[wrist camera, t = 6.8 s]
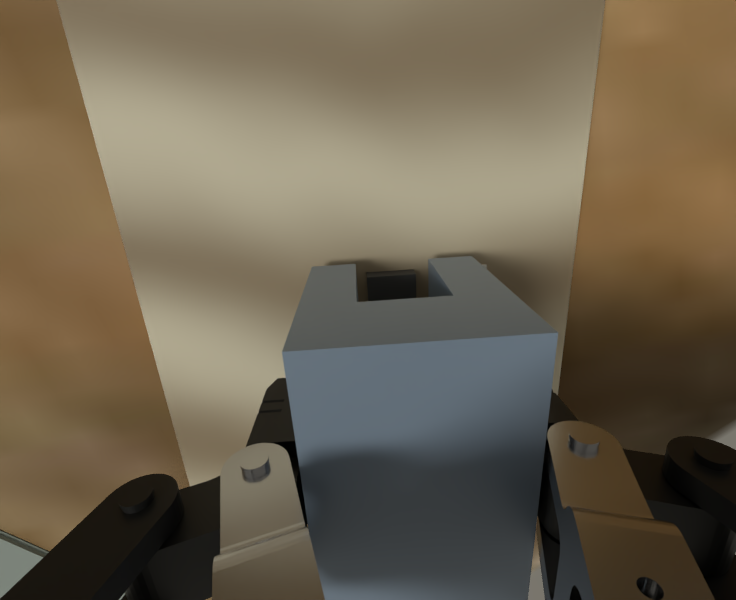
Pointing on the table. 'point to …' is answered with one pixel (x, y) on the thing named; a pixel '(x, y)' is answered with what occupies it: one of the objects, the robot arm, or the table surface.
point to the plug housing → (420, 434)
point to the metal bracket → (17, 560)
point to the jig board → (327, 167)
